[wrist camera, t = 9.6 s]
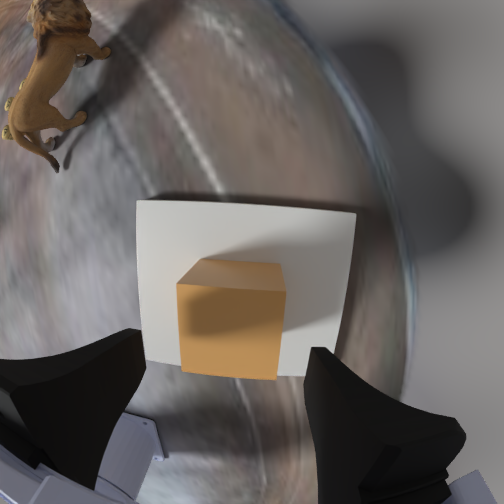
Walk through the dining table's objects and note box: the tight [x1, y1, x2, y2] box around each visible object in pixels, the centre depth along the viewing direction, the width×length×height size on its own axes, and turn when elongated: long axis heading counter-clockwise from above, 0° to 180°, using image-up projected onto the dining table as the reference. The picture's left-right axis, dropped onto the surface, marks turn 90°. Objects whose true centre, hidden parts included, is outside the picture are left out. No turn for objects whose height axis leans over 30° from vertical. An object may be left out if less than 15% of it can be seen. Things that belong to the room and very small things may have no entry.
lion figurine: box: [8, 0, 111, 173], centre depth 12 cm, size 15×5×9 cm, turn 172°
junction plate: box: [136, 200, 356, 376], centre depth 17 cm, size 14×12×5 cm
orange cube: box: [176, 259, 287, 380], centre depth 15 cm, size 5×5×5 cm
